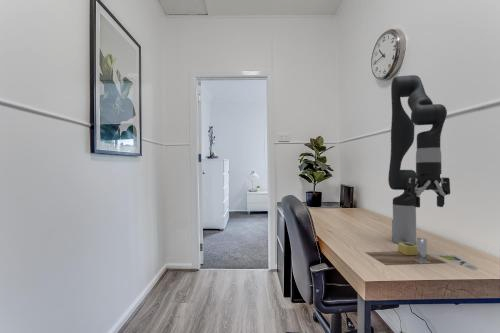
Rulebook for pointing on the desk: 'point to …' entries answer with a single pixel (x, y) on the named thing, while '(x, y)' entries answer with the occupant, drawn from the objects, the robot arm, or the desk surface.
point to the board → (400, 258)
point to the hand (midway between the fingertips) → (428, 207)
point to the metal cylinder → (421, 250)
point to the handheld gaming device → (457, 260)
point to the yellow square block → (407, 248)
